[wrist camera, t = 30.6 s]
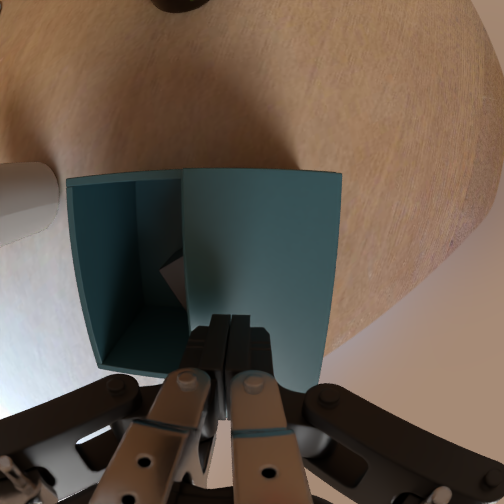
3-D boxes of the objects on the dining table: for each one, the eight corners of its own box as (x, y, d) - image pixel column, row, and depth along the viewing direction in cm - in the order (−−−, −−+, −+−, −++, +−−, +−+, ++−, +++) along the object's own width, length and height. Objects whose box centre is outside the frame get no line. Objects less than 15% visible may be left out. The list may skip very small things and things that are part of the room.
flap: (336, 173, 13) (342, 173, 13) (312, 386, 17) (316, 391, 16) (180, 168, 11) (182, 168, 10) (199, 417, 14) (201, 423, 14)
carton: (301, 172, 24) (336, 172, 14) (294, 311, 27) (314, 382, 17) (132, 173, 24) (65, 178, 14) (143, 306, 27) (98, 368, 17)
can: (22, 159, 23) (-57, 166, 11) (68, 164, 23) (-20, 169, 12) (18, 224, 25) (-57, 251, 13) (61, 236, 25) (-19, 272, 14)
